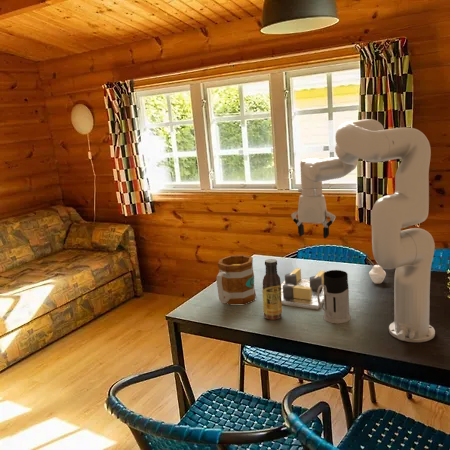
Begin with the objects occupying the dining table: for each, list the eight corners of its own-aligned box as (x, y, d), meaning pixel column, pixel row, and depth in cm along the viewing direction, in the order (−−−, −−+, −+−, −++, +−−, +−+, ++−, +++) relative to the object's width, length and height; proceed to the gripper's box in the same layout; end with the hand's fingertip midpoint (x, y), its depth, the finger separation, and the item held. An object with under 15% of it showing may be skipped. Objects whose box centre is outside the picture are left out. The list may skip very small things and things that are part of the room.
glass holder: (356, 315, 148) (354, 272, 144) (331, 332, 139) (329, 286, 135) (333, 309, 154) (331, 267, 151) (307, 324, 145) (305, 280, 141)
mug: (232, 289, 180) (228, 253, 176) (262, 293, 173) (259, 256, 169) (205, 309, 164) (201, 270, 160) (237, 314, 157) (234, 274, 153)
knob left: (294, 287, 171) (293, 277, 170) (283, 286, 173) (282, 276, 172) (304, 278, 180) (303, 268, 179) (293, 277, 182) (293, 267, 181)
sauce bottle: (267, 322, 149) (263, 265, 144) (261, 314, 155) (256, 259, 150) (286, 318, 151) (282, 261, 146) (278, 311, 157) (275, 256, 152)
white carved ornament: (387, 284, 170) (387, 267, 169) (370, 285, 171) (370, 267, 170) (384, 278, 176) (384, 261, 175) (368, 279, 177) (367, 262, 176)
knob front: (281, 297, 163) (280, 286, 162) (286, 293, 167) (285, 282, 166) (308, 301, 158) (308, 290, 157) (313, 296, 162) (312, 285, 161)
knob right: (319, 291, 166) (319, 280, 165) (308, 289, 168) (307, 278, 167) (328, 281, 174) (328, 270, 173) (317, 279, 177) (317, 269, 176)
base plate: (317, 309, 155) (317, 299, 154) (264, 301, 165) (264, 292, 164) (337, 286, 173) (336, 277, 172) (288, 280, 183) (288, 272, 182)
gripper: (286, 193, 169) (288, 237, 173) (331, 194, 160) (332, 241, 164) (294, 189, 175) (296, 232, 179) (338, 190, 166) (339, 235, 170)
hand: (313, 236), depth 172 cm, fingers open, 9 cm apart
